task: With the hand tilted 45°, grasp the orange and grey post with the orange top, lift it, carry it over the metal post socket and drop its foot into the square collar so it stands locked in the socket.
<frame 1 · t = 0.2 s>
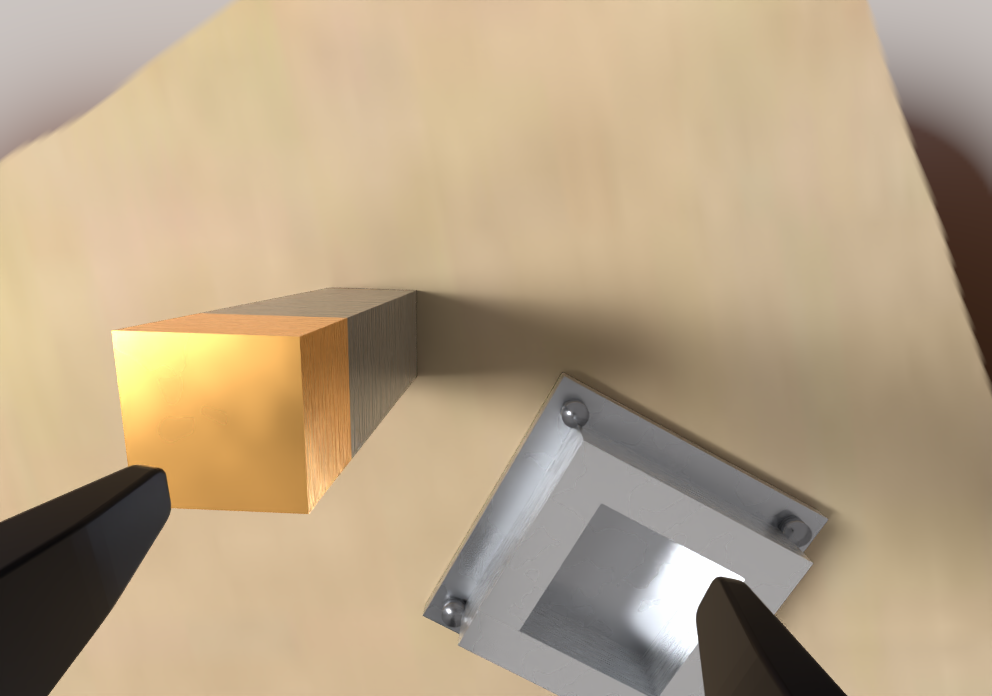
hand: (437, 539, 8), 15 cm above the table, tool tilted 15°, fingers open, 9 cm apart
orange and grey post: (373, 332, 23), on the table
metal post socket: (614, 559, 25), on the table
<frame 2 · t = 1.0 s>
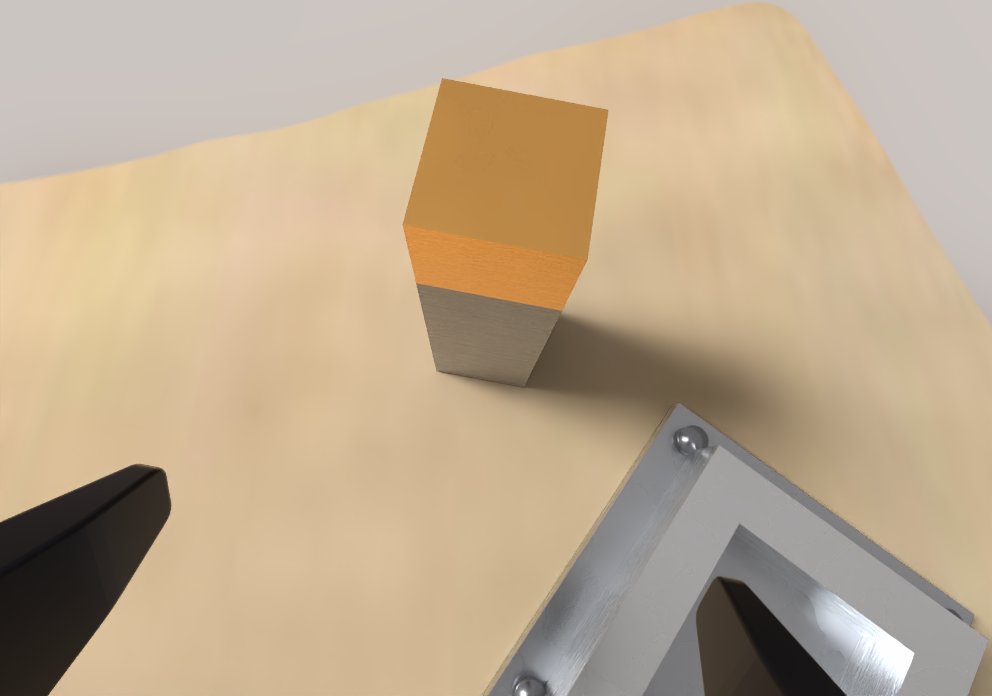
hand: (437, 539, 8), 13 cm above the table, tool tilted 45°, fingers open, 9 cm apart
orange and grey post: (488, 337, 23), on the table
metal post socket: (730, 650, 20), on the table
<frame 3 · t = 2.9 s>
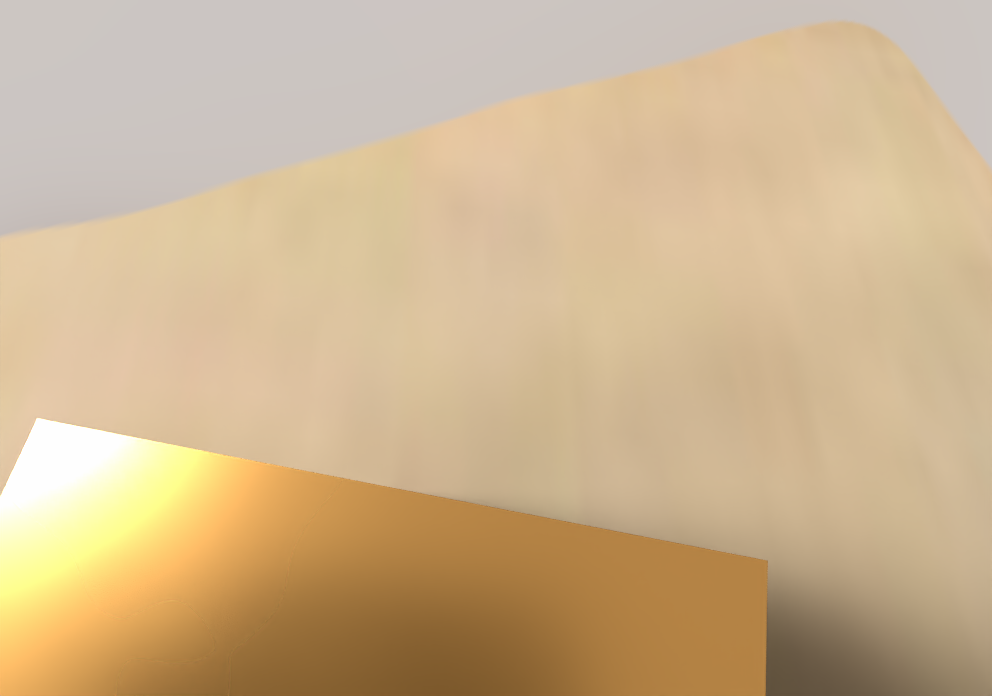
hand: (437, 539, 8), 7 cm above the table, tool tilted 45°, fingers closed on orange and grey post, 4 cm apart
orange and grey post: (439, 577, 14), on the table, touching gripper
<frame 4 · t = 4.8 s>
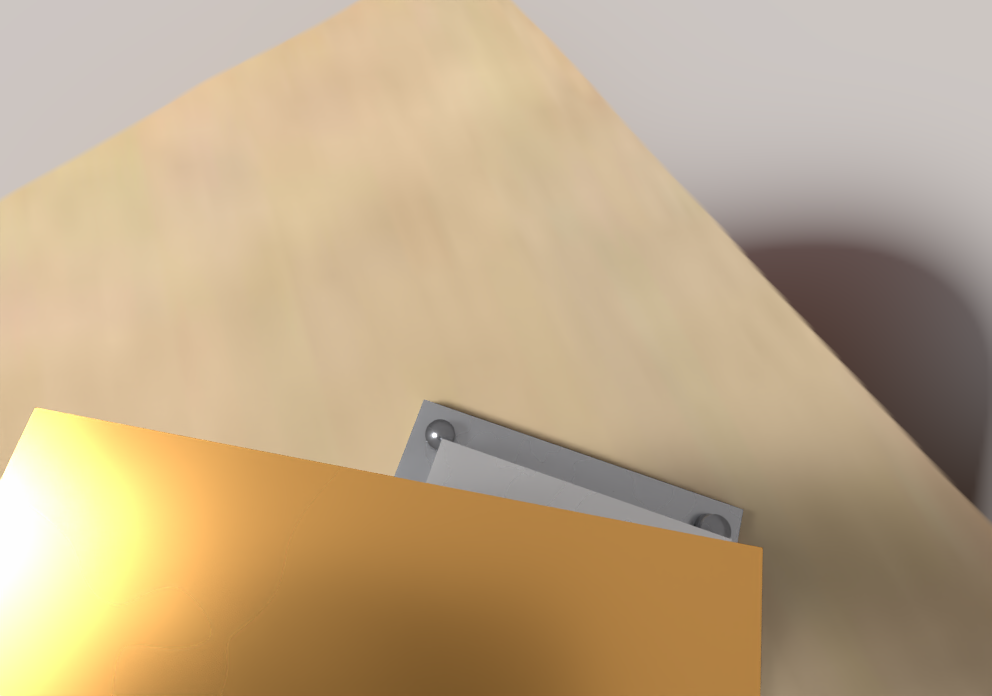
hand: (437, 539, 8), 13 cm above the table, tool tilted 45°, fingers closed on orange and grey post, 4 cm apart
orange and grey post: (438, 574, 14), point 7 cm above the table, touching gripper
metal post socket: (529, 626, 20), on the table
when the fingers open (9 cm above the table, at t = 6.5 s): orange and grey post drops 1 cm, resting on metal post socket.
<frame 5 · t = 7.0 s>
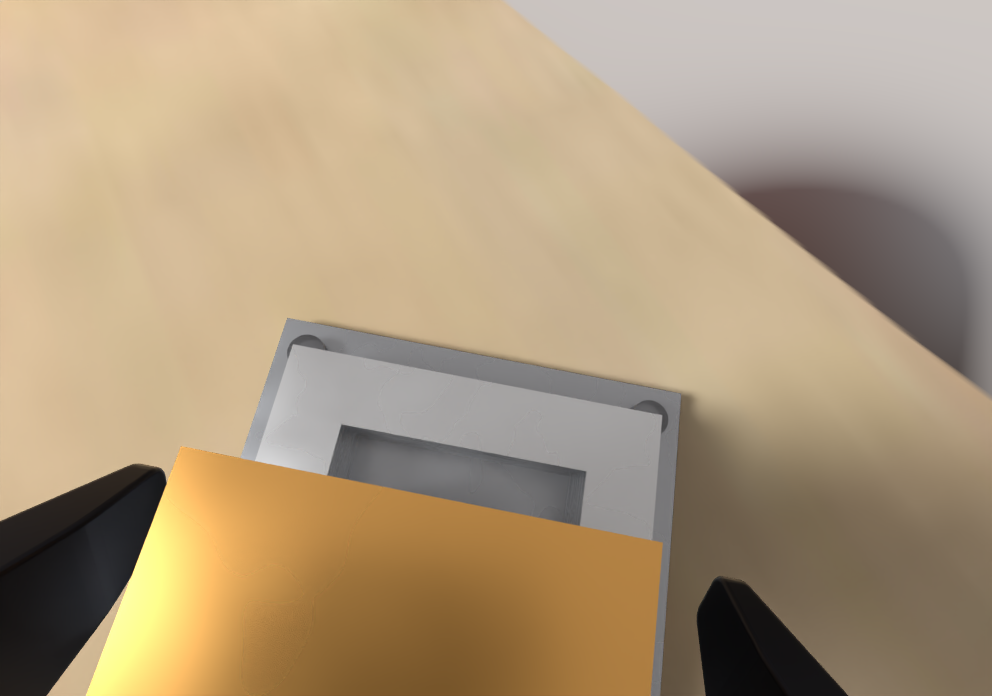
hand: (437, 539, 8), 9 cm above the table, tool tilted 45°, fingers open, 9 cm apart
orange and grey post: (440, 570, 15), point 1 cm above the table, touching metal post socket
metal post socket: (442, 567, 16), on the table
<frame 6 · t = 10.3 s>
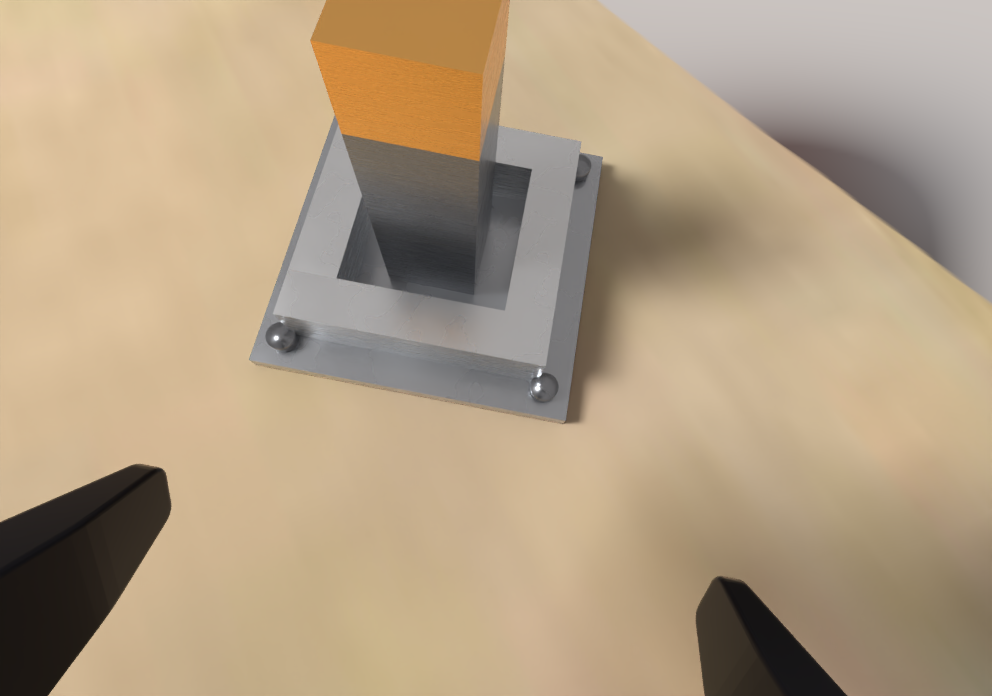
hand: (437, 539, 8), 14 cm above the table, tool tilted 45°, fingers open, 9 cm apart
orange and grey post: (441, 249, 24), point 1 cm above the table, touching metal post socket
metal post socket: (442, 257, 25), on the table
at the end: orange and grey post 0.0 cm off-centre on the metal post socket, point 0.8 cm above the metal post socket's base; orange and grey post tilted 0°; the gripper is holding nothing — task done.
